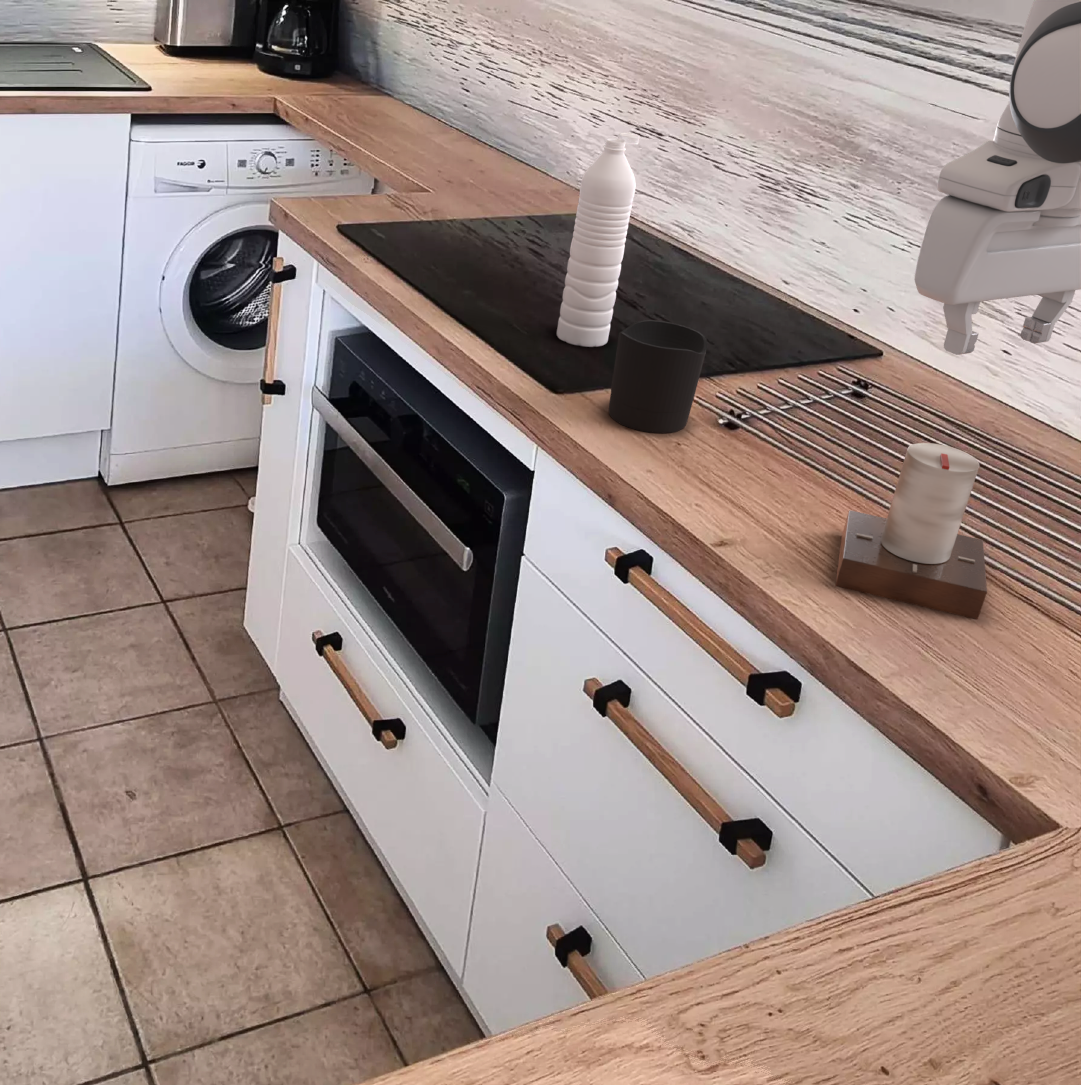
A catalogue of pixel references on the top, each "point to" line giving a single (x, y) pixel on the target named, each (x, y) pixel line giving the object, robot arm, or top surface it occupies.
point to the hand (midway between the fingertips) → (996, 346)
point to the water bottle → (598, 246)
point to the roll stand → (911, 570)
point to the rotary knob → (929, 502)
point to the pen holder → (656, 375)
